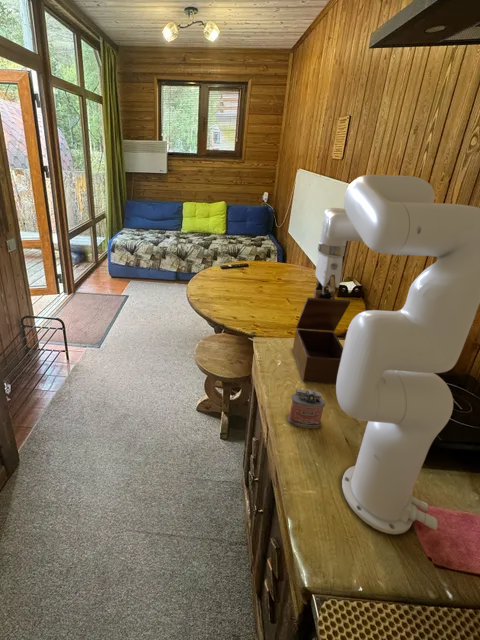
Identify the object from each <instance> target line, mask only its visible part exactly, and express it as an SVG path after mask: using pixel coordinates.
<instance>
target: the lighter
mask: <svg viewBox="0 0 480 640" xmlns="http://www.w3.org/2000/svg"><path fill="white" fill-rule="evenodd" d="M325 406H326V401H325V399H324V398H322V393H321V392H319V391H314V390H313V389H308V390H306V389H305V390H304V389H295V393H294V394H292V395H291V404H290V410H289V414H288V416H287V421H288V423H290V424H291V425H293V426H297V427H301V428H307V429H318V428H320V427H321V424H322V421H321V420H322V416H323V411H324V407H325Z"/></svg>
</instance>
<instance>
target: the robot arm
mask: <svg viewBox="0 0 480 640" xmlns="http://www.w3.org/2000/svg"><path fill="white" fill-rule="evenodd" d="M434 201H435V190H434V188H433V187H432V185H431V184H430V183H429V182H428V181H427V180H425V179H423V178H421V177H417V176H414V175H401V174H399V175H398V174H364V175H361V176H358V177H356V178H355V179H354V180H353V181H352V182H351V183H350V184H349V185H348V187H347V188H346V191H345V193H344V197H343V208H341V207H329V208H327V209H325V210H324V213H323V216H322V217H323V218H322V223H321V228H320V229H321V230H320V234H319V242H318V246H317V253H318V257H317V260H316V265H315V266H316V267H315V278H316V284H315V290H322V294H320V297H319V298H323V299H332V298H331V296H332V293H334V292H335V291H336V289H338V288H339V287H340V285H341V278H342V271H343V257H344V256H345V252H346V248H347V242H362V243H364V244H365V246H366V247H367V248H369V249H370V250H371V251H372V252H375V253H377V254H382V255H397V256H415V257H416V256H417V257H422V256H423V257H436V258H437V260H436V261H435V262H434V263H432V264H430V265H429V266H427V267H426V268H425V269H424V270H423V271H422V272H421V273H420V274H419V275H417V276H416V278H415V279H414V281H413V282H412V283H411V284H410V287H409V289H408V293H407V297H406V300H405V303H404V305H403V306H402V308H401V309H398V310H380V309H372V310H371V309H370V310H364V311H361V312H359V313H358V314H356V315H355V316H354V317H353V318H352V319H351V321H350V323H349V325H348V328H347V331H346V335H345V339H344V344H343V352H342V357H341V361H340V366H339V370H338V375H337V381H336V384H335V393H336V399H337V400H336V401H337V403H338V406H339V407H340V409H341V411H343V413H344V414H346V416H348V417H349V418H352V419H355V420H357V421H358V420H359V421H364V422H367V423H366V427H365V430H364V434H363V437H362V441H361V444H360V447H359V452H358V455H357V459H356V463H355V465H353V466H350V467H349V468H347V469H346V470H345V472H344V473H343V476H342V480H341V488H342V493H343V495H344V498H345V500H346V502H347V504H348V505H349V507H350V508H351V509H352V511H353V512H354V514H356V515H357V517H358V518H360V519H361V520H362V521H363V522H364V523H365V524H367V525H368V526H370V527H371V528H372V529H375V530H377V531H379V532H381V533H385V534H389V535H401V534H404V533H407V531H409V530H410V528H411V526H412V524H413V522H415V521H417V522H419V523H421V524H423V525H424V526H426V527H428V528H429V529H432V530H434V531H437V529H438V518H436V517H434V516H432V515H431V514H429V513H428V510H429V504H428V503H427V502H424V501H422V500H421V499H418V498H416V497H414V495H413V494H412V493H413V491H414V488H415V487H416V483H417V480H418V478H419V476H420V473H421V470H422V467H423V465H424V462H425V460H426V458H427V456H428V453H429V450H430V448H431V446H432V444H433V442H434V440H435V439H436V437H437V436H438V435H439V434H440V433H441V432H442V430H444V428H445V427H446V425H447V424H448V422H449V421H450V419H451V416H452V415H453V410H454V397H453V394H452V392H451V389H450V387H449V386H448V384H447V383H446V381H444V379H443V378H441V377H440V376H439V375H438V374H441V373H446V372H448V371H450V370H452V369H453V368H454V367H455V366H456V364H457V363H458V361H459V358H460V356H461V354H462V351H463V349H464V346H465V343H466V341H467V338H468V336H469V333H470V330H471V327H472V325H473V322H474V320H475V318H476V314H477V311H478V308H479V306H480V207H478V206H474V205H473V206H472V205H468V204H460V203H445V202H443V203H441V202H434ZM335 288H336V289H335ZM335 293H336V292H335ZM314 298H316V297H314ZM419 509H420V510H419ZM423 511H424V512H423ZM426 512H427V513H426Z"/></svg>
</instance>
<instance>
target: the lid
mask: <svg viewBox="0 0 480 640" xmlns="http://www.w3.org/2000/svg"><path fill="white" fill-rule="evenodd" d="M320 294H322V290H316V289H314V290H313V297H307V298H306V300H305V302H304V306H303V307H302V310H301V312H300V316H299V318H298V321H297V323H296V325H295V329H307V330H320V331H333V332H335V331H336V330H337V327H338V325H339V323H340V322H341V320H342V318H343V316H344V315H345V313H346V312H347V310H348V308H349V306H350V305H351V300H350V299H336V292H334V293H332V296H331V299H323V298H319V297H320ZM315 297H316V298H315Z"/></svg>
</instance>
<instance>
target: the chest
mask: <svg viewBox="0 0 480 640" xmlns="http://www.w3.org/2000/svg"><path fill="white" fill-rule="evenodd" d="M293 339H294V340H293V346H292V353H293V355H294V359H295V361H296V363H297V368H298V371H299V373H300V377H301V379H302V381H303V382H307V383H309V382H310V383H319V384H329V385H330V384H331V385H336V381H337V375H338V370H339V366H340V361H341V357H342V352H343V348H344V345H342V343H341V342H340V339H339V338H338V336H337V335H336V332H335V331H324V330H311V329H298V328H295V332H294V338H293Z"/></svg>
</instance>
